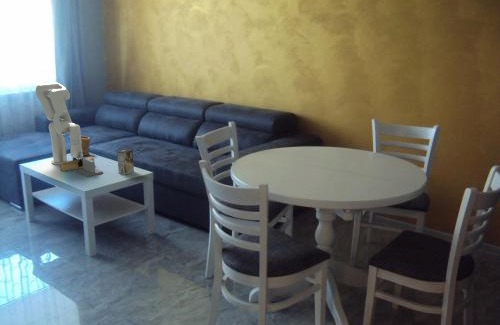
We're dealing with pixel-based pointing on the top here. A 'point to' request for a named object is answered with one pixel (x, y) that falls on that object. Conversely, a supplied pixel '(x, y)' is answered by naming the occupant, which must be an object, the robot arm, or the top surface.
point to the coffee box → (125, 161)
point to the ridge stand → (89, 168)
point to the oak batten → (72, 165)
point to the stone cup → (85, 145)
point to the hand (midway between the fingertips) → (77, 165)
